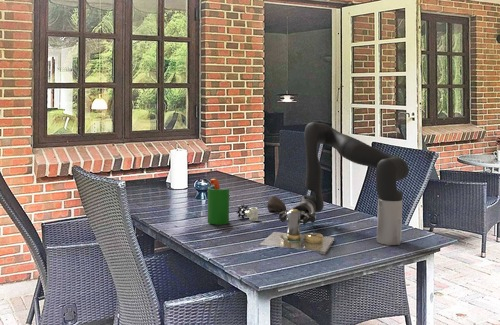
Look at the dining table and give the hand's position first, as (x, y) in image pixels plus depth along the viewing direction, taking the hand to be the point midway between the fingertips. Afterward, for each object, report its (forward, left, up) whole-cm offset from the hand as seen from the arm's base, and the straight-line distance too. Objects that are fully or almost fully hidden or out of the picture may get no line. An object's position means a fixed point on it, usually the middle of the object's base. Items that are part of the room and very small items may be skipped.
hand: (293, 220), depth 205 cm
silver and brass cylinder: (0, -1, -8) cm, 8 cm away
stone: (+22, -51, -9) cm, 56 cm away
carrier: (-2, 0, -9) cm, 9 cm away
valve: (+28, -28, -9) cm, 41 cm away
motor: (+40, -20, -9) cm, 46 cm away
